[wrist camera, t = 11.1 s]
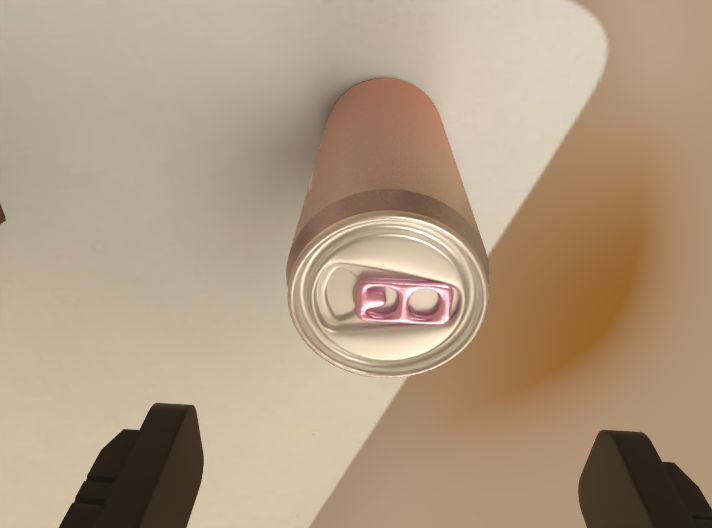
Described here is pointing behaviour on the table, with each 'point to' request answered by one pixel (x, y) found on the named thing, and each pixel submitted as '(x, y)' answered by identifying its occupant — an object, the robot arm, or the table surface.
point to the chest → (1, 216)
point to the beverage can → (387, 240)
